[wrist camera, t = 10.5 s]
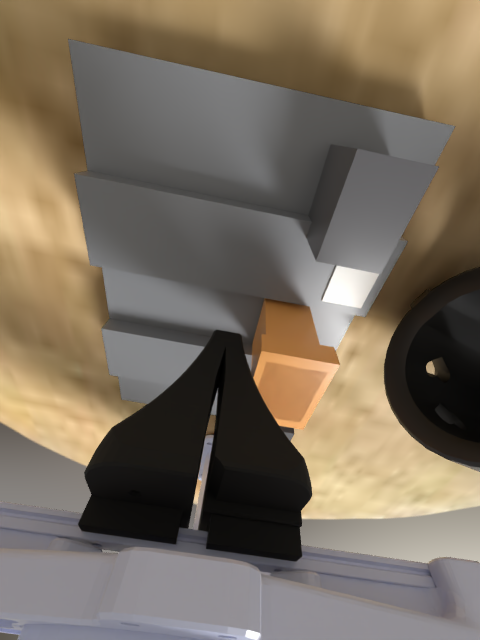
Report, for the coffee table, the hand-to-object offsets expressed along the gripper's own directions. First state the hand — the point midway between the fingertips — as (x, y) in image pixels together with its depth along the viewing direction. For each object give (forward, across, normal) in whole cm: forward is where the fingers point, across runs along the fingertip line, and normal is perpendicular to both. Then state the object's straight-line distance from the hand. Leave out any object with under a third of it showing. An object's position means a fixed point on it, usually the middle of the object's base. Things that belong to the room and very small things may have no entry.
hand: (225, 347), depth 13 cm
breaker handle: (+3, -3, 0) cm, 4 cm away
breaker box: (+5, 0, 0) cm, 5 cm away
